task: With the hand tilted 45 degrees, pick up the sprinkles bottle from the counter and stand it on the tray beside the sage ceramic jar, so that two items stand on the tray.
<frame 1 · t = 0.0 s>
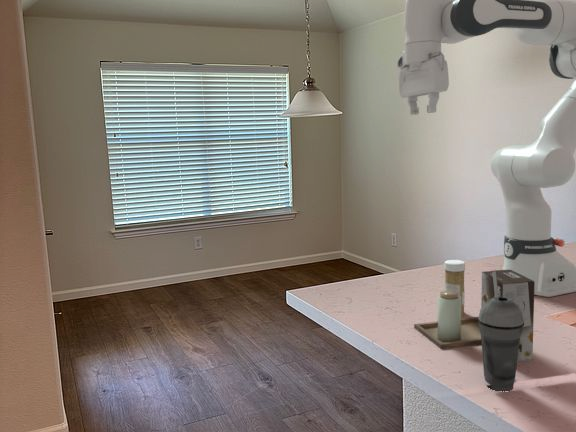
hand: (422, 113, 131), 48 cm above the counter, tool pointing down, fingers open, 8 cm apart
sprinkles bottle: (454, 317, 123), on the counter
coffee box: (505, 357, 101), on the counter
jar: (449, 338, 108), point 1 cm above the counter, touching tray
beverage cup: (499, 386, 89), on the counter
tray: (461, 337, 111), on the counter
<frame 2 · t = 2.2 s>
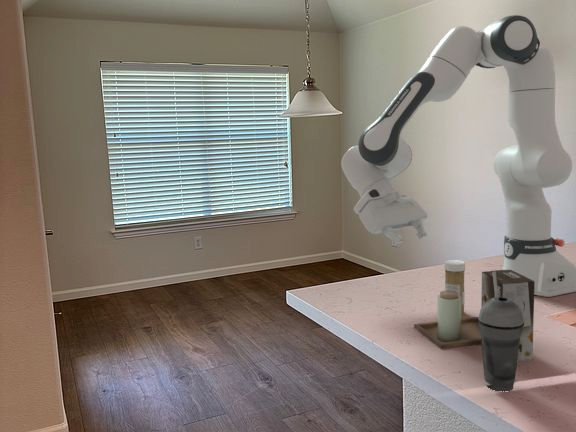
hand: (412, 240, 130), 17 cm above the counter, tool tilted 45°, fingers open, 8 cm apart
nothing on the counter moved.
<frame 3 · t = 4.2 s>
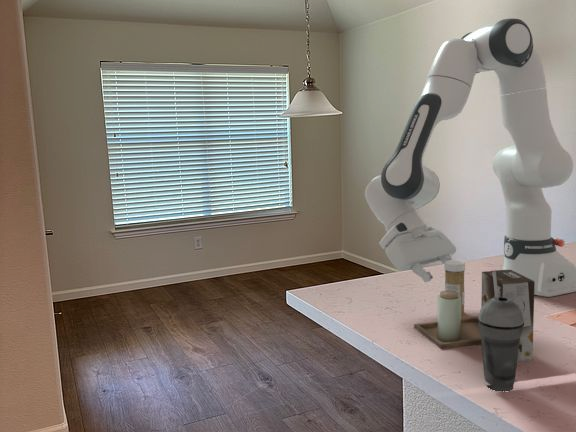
hand: (441, 276, 123), 9 cm above the counter, tool tilted 45°, fingers open, 8 cm apart
nothing on the counter moved.
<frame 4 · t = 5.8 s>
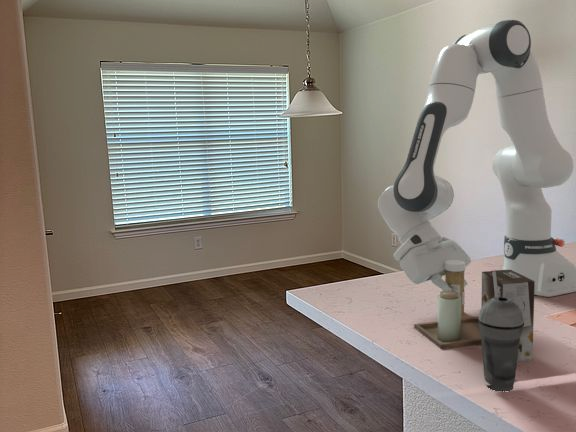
hand: (457, 289, 122), 7 cm above the counter, tool tilted 45°, fingers closed on sprinkles bottle, 4 cm apart
sprinkles bottle: (454, 317, 123), on the counter, touching gripper
everything else where it was.
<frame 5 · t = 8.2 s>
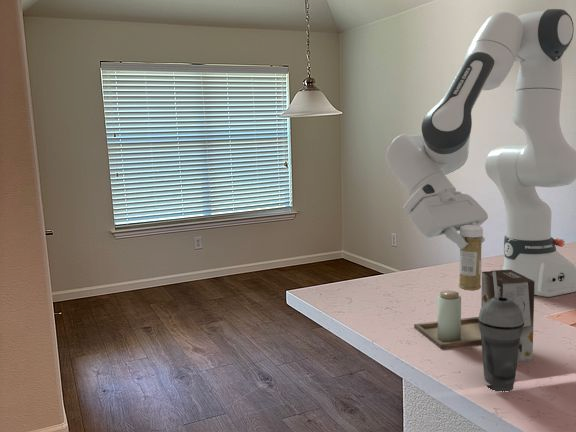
hand: (473, 244, 110), 20 cm above the counter, tool tilted 45°, fingers closed on sprinkles bottle, 4 cm apart
sprinkles bottle: (469, 288, 112), point 10 cm above the counter, touching gripper
everything else where it was.
when the fingers open (9 cm above the counter, at t = 10.6 s): sprinkles bottle stays where it is, resting on tray.
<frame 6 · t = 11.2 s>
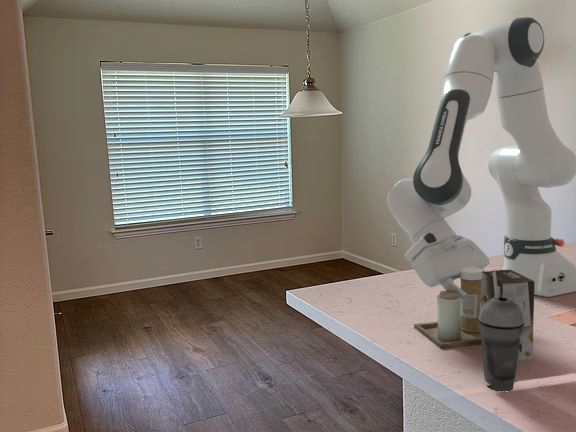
hand: (475, 292, 110), 9 cm above the counter, tool tilted 45°, fingers open, 8 cm apart
sprinkles bottle: (470, 330, 112), point 1 cm above the counter, touching tray
jar: (449, 338, 108), point 1 cm above the counter, touching tray, gripper
everything else where it was.
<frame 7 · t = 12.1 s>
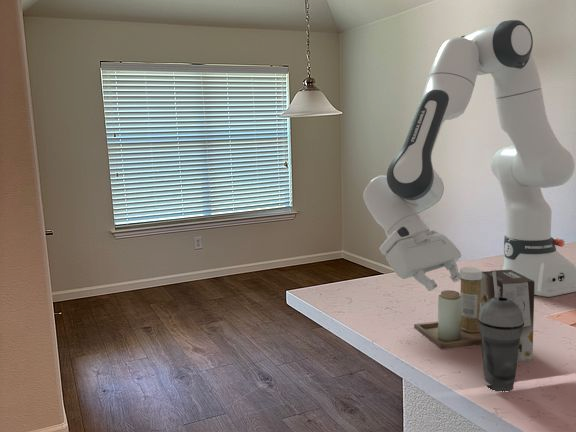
hand: (446, 284, 115), 10 cm above the counter, tool tilted 45°, fingers open, 8 cm apart
jar: (449, 338, 108), point 1 cm above the counter, touching tray
everything else where it was.
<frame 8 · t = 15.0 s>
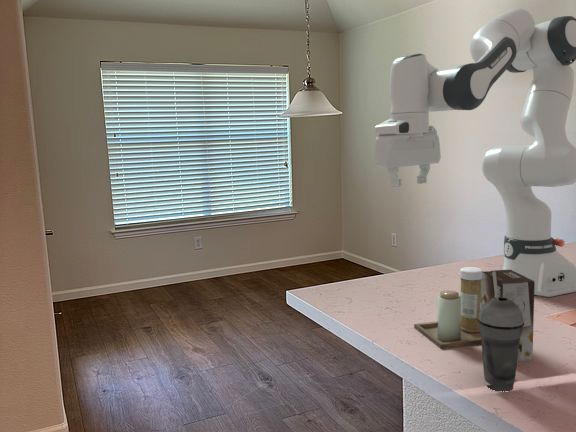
hand: (409, 185, 124), 31 cm above the counter, tool pointing down, fingers open, 8 cm apart
nothing on the counter moved.
at the end: sprinkles bottle inside the target area on the tray (3.1 cm from its centre), point 0.8 cm above the tray's base; sprinkles bottle tilted 0°; jar moved 0.0 cm from its start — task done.
